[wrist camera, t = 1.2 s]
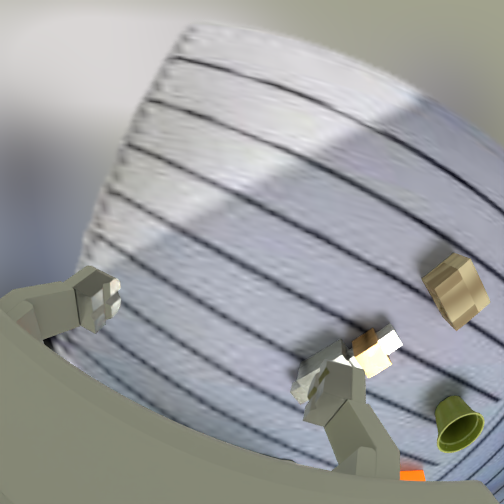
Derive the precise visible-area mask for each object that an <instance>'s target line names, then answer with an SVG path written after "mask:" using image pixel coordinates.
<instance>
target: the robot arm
mask: <svg viewBox="0 0 504 504" xmlns="http://www.w3.org/2000/svg"><path fill="white" fill-rule="evenodd" d="M119 289H120V281H119V280H118V279H117V278H115V277H113V276H111V275H109V274H107V273H105V272H103V271H101V270H98V269H96V268H94V267H93V266H86V267H85V268H83V269H82V270H80V271H79V272H77V273H76V274H75V275H73V276H72V277H70V278H69V279H68V280H66V281H65V282H63V283H62V282H61V281H59V282H54V283H48V284H42V285H36V286H30V287H25V288H19V289H14V290H12V291H11V292H9V293H8V294H6V295H5V296H4V297H2V298H1V299H0V504H499V502H498V501H497V500H496V498H495V497H494V496H493V494H492V493H491V492H490V491H489V489H488V488H487V487H486V486H485V485H484V484H483V483H482V482H480V481H478V480H467V481H408V480H400V451H399V450H398V448H397V446H396V445H395V443H394V442H393V440H392V439H391V437H390V436H389V434H388V433H387V431H386V429H385V428H384V426H383V425H382V423H381V422H380V420H379V419H378V417H377V416H376V414H375V413H374V411H373V410H372V408H371V407H370V405H369V404H366V390H365V370H364V369H361V368H357V367H354V366H349V365H346V364H342V363H339V362H335V361H332V360H328V359H325V360H324V361H323V362H322V364H321V366H320V372H318V373H316V374H315V376H314V378H313V380H312V382H311V384H310V387H309V391H308V395H307V397H308V399H309V402H308V403H307V405H306V406H305V411H304V417H303V421H306V422H309V423H312V424H316V425H319V426H323V427H324V429H325V431H326V434H327V436H328V439H329V441H330V444H331V446H332V449H333V451H334V454H335V456H336V459H337V461H338V464H339V465H338V466H337V467H336V468H334V469H333V470H332V471H328V470H323V469H318V468H313V467H309V466H304V465H300V464H296V463H295V462H293V461H290V460H280V459H277V458H273V457H270V456H266V455H263V454H260V453H256V452H253V451H250V450H247V449H244V448H241V447H238V446H235V445H232V444H229V443H226V442H224V441H221V440H218V439H216V438H213V437H210V436H208V435H205V434H203V433H200V432H198V431H195V430H193V429H191V428H188V427H186V426H184V425H181V424H179V423H177V422H175V421H172V420H170V419H168V418H166V417H164V416H162V415H160V414H158V413H156V412H153V411H151V410H149V409H147V408H145V407H143V406H142V405H140V404H138V403H136V402H134V401H132V400H130V399H128V398H126V397H125V396H123V395H121V394H119V393H118V392H116V391H114V390H112V389H111V388H109V387H107V386H105V385H104V384H102V383H100V382H99V381H97V380H96V379H94V378H92V377H91V376H89V375H88V374H86V373H84V372H83V371H81V370H80V369H78V368H77V367H75V366H74V365H72V364H71V363H69V362H68V361H66V360H65V359H63V358H62V357H61V356H59V355H58V354H56V353H55V352H54V351H52V350H51V349H49V348H48V347H47V346H45V345H44V343H43V339H45V338H48V337H51V336H54V335H57V334H60V333H62V332H65V331H68V330H71V329H74V328H76V327H79V326H80V325H81V326H82V327H84V328H86V329H88V330H90V331H91V332H93V333H95V334H96V333H97V332H98V331H99V330H100V329H101V328H102V327H103V326H105V325H106V320H107V319H111V318H113V317H114V316H115V315H116V313H117V311H118V310H119V308H120V303H121V297H120V295H119V294H118V292H117V291H118V290H119Z"/></svg>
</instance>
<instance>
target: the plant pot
mask: <svg viewBox="0 0 504 504" xmlns="http://www.w3.org/2000/svg"><path fill="white" fill-rule="evenodd" d="M435 417H436V422H437V428H438V439H437V446H438V449H439V450H440V451H442V452H444V453H453V452H457V451H459V450H462V449H464V448H466V447H467V446H469V445H470V444H471V443H472V442H474V441H475V440H476V438H477V437H478V436H479V435H480V433H481V431H482V430H483V427H484V418H483V416H482V415H481V414H480V413H477V412H475V411H473V410H472V409H471V408H470V407H469V406H468V405H467V404H466V403H465V402H464V401H463V400H462V399H461V398H460V397H459V396H450V397H447V398H446V399H445V400H444V401H442V402H440V403H439V405H438V406H437V408H436V410H435Z"/></svg>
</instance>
